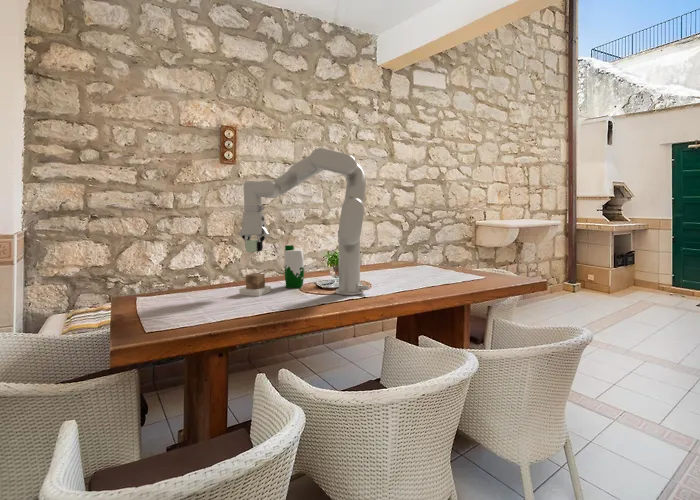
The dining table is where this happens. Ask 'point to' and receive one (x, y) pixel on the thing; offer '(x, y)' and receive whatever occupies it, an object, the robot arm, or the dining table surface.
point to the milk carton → (294, 267)
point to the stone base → (255, 291)
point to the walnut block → (255, 281)
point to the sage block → (251, 246)
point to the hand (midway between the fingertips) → (254, 250)
